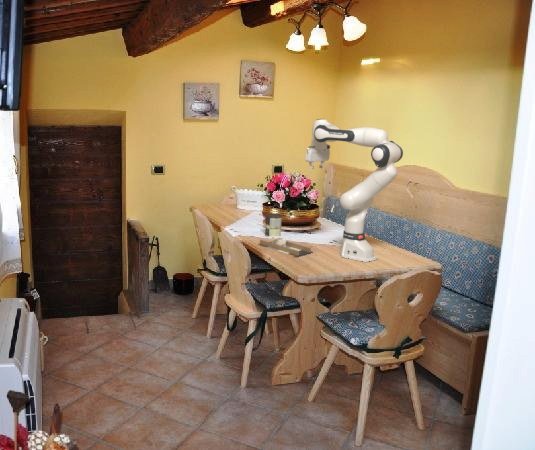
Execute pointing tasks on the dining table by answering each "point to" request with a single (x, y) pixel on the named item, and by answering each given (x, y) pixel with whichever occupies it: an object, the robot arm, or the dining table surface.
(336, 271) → the dining table surface
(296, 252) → the runway
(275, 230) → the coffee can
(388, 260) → the dining table surface
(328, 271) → the dining table surface
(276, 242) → the block
